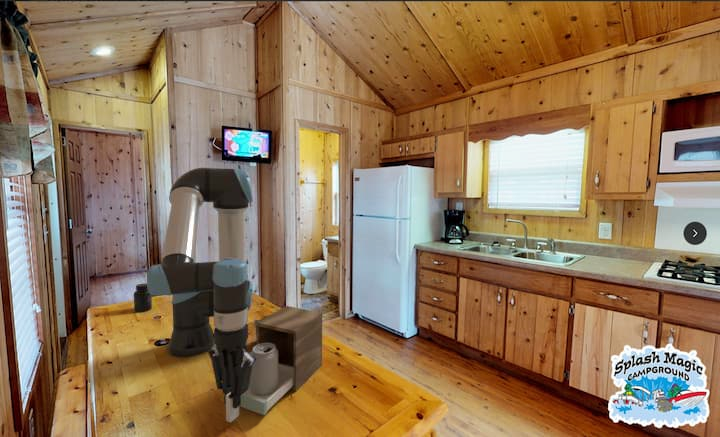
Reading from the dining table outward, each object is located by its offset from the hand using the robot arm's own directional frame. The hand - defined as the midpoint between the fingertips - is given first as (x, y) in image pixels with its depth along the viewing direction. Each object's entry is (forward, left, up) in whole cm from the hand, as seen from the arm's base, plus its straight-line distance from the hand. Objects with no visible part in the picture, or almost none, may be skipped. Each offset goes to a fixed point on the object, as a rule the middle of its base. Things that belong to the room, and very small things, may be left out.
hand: (232, 417), depth 77 cm
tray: (0, +13, 0) cm, 13 cm away
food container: (-18, +38, -2) cm, 42 cm away
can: (0, +12, 0) cm, 12 cm away
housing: (0, +24, -2) cm, 24 cm away
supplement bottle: (-92, +38, -2) cm, 100 cm away
